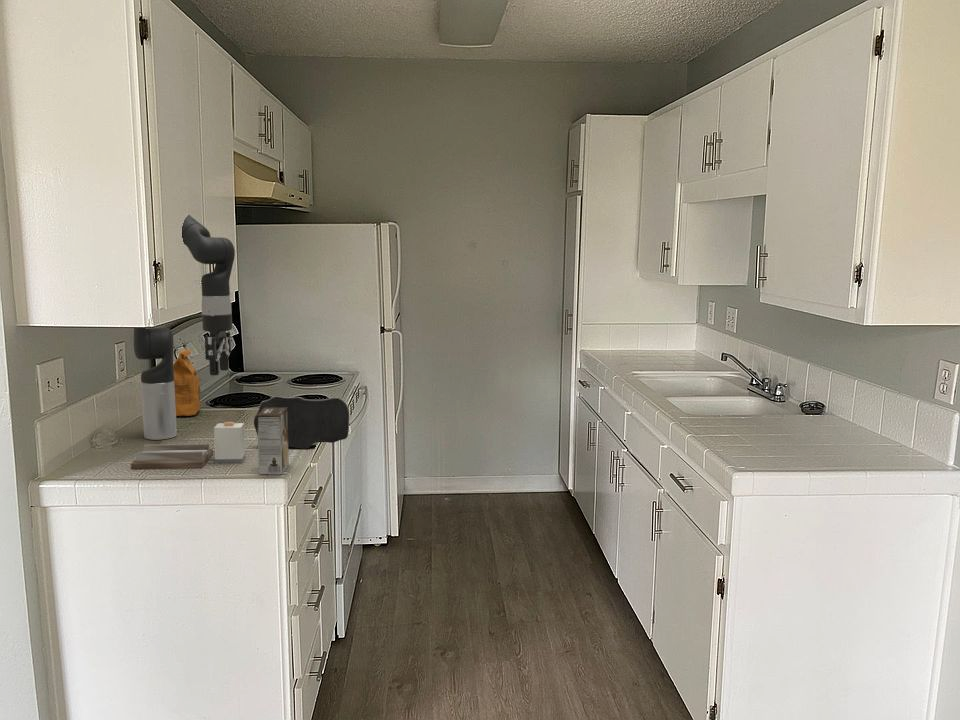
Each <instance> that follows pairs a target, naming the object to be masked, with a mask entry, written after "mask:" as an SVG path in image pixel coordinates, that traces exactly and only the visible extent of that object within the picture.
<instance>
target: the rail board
mask: <svg viewBox="0 0 960 720" xmlns="http://www.w3.org/2000/svg"><path fill="white" fill-rule="evenodd" d="M212 456H214V449H213V448H211V449H210V443H170V444H169V443H166V444H165V443H164V444H159V443H158V444H144V445H143V450H142V451H141V452H140V451H139V452H138V451H137V452H135V453H134V457H135V459H134V460H133V461H132V462H131V463H130V470H161V469H162V470H166V469H167V470H169V469H171V470H173V469H175V470H176V469H180V470H181V469H203V468H204V466H205V465H206V464H207V463H208V461H209V460H210V459H211V458H212ZM210 457H211V458H210ZM206 462H207V463H206Z"/></svg>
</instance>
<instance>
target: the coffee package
mask: <svg viewBox="0 0 960 720" xmlns="http://www.w3.org/2000/svg"><path fill="white" fill-rule="evenodd" d="M178 353H179V355H178V357H177V359H176V360H175V362H173V366H174V387H175V407H176V418H178V417H177V416H179V417H190V416H196V414H197V413H198V412H199V411H200V408H201V405H202V404H201V382H200V377H199V374H198V371H197V370H196V368H195V367H194V365H193V364H191V360H190V358H189V357H188V356H189V355H191V353H192V351H191V350H190V349H188V348H187V349H184V350H182V351H179V352H178Z"/></svg>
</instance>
